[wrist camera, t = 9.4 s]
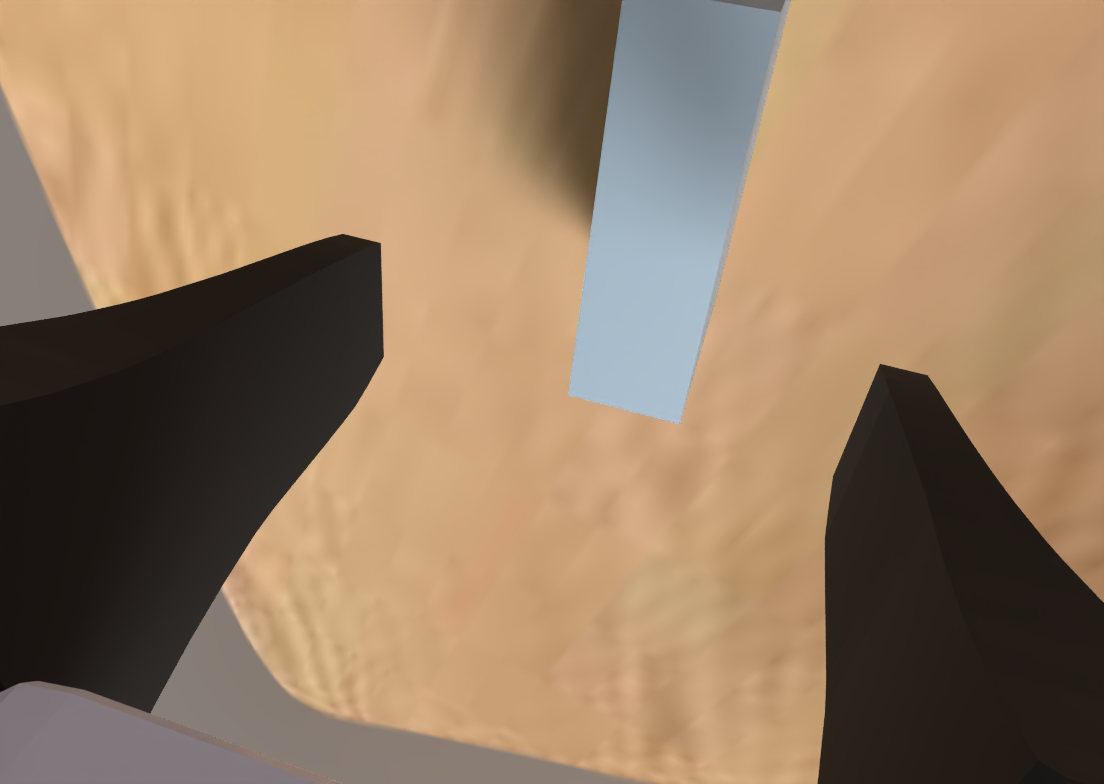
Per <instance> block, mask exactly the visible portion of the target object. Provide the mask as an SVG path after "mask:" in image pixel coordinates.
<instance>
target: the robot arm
mask: <svg viewBox="0 0 1104 784" xmlns="http://www.w3.org/2000/svg"><path fill="white" fill-rule="evenodd" d="M383 357H384V349H383V311H382V272H381V243H378V242H374V241H370V240H366V239H361V238H357V237H353V236H349V235H345V234H341V235H337V236H333V237H329V238H325V239H322V240H319V241H315V242H312V243H309V244H306V245H303V246H300V247H297V248H295V249H292V250H289V251H286V252H283V253H280V254H278V255H275V256H272V257H269V258H266V259H263V260H261V261H258V262H255V263H252V264H249V265H246V266H244V267H241V268H238V269H235V270H232V271H229V272H227V273H224V274H221V275H218V276H214V277H211V278H208V279H205V280H202V281H198V282H195V283H192V284H189V285H186V286H182V287H179V288H176V289H173V290H170V291H166V292H163V293H160V294H157V295H153V296H150V297H146V298H142V299H139V300H135V301H131V302H127V303H123V304H119V305H114V306H110V307H106V308H101V309H97V310H92V311H88V312H83V313H78V314H73V315H68V316H63V317H57V318H50V319H44V320H38V321H32V322H25V323H19V324H13V325H7V326H0V784H343V783H341V782H338V781H335V780H332V779H330V778H327V777H324V776H322V775H319V774H316V773H313V772H310V771H308V770H305V769H302V768H299V767H297V766H294V765H291V764H288V763H285V762H283V761H280V760H277V759H274V758H272V757H269V756H266V755H263V754H261V753H257V752H255V751H252V750H249V749H247V748H244V747H241V746H238V745H236V744H233V743H230V742H227V741H224V740H222V739H219V738H216V737H213V736H211V735H208V734H205V733H202V732H199V731H197V730H194V729H191V728H188V727H186V726H183V725H180V724H177V723H175V722H172V721H169V720H166V719H164V718H161V717H158V716H155V715H152V714H150V713H151V711H152V709H153V707H154V705H155V703H156V701H157V699H158V698H159V696H160V694H161V692H162V690H163V688H164V687H165V685H166V683H167V681H168V679H169V678H170V675H171V674H172V672H173V670H174V669H175V666H176V665H177V663H178V661H179V659H180V657H181V655H182V654H183V652H184V650H185V648H186V646H187V645H188V643H189V641H190V639H191V638H192V636H193V634H194V632H195V631H196V629H197V627H198V626H199V624H200V622H201V621H202V619H203V617H204V616H205V614H206V612H207V611H208V609H209V607H210V606H211V604H212V602H213V601H214V599H215V597H216V595H217V594H218V592H219V590H220V589H221V587H222V585H223V584H224V582H225V581H226V579H227V577H228V576H229V574H230V573H231V571H232V569H233V568H234V566H235V565H236V563H237V562H238V560H239V558H240V557H241V555H242V554H243V552H244V551H245V549H246V547H247V546H248V544H249V543H250V541H251V539H252V538H253V536H254V535H255V533H256V532H257V530H258V529H259V528H260V526H261V525H262V524H263V522H264V521H265V520H266V518H267V517H268V515H269V514H270V513H271V511H272V510H273V509H274V507H275V506H276V505H277V504H278V503H279V501H280V500H281V499H282V498H283V496H284V495H285V494H286V493H287V491H288V490H289V489H290V488H291V486H292V485H293V484H294V483H295V482H296V480H297V479H298V478H299V477H300V475H301V474H302V473H303V472H304V470H305V469H306V468H307V467H308V465H309V464H310V463H311V462H312V461H313V459H314V458H315V457H316V456H317V454H318V453H319V452H320V451H321V449H322V448H323V447H324V446H325V444H326V443H327V442H328V441H329V439H330V438H331V437H332V436H333V434H334V433H335V432H336V431H337V429H338V428H339V427H340V426H341V424H342V423H343V422H344V420H345V419H346V418H347V417H348V415H349V414H350V413H351V411H352V410H353V409H354V407H355V406H356V404H357V403H358V401H359V399H360V398H361V396H362V394H363V393H364V391H365V389H366V388H367V386H368V384H369V382H370V381H371V379H372V377H373V375H374V373H375V372H376V370H377V368H378V366H379V364H380V363H381V361H382V359H383ZM825 614H826V702H825V718H824V727H823V737H822V747H821V757H820V767H819V777H818V784H1104V603H1103V602H1102V601H1101V600H1100V599H1099V598H1098V596H1097V595H1096V594H1095V593H1094V592H1093V591H1092V590H1091V589H1090V588H1089V587H1088V586H1087V585H1086V584H1085V583H1084V582H1083V581H1082V580H1081V579H1080V578H1079V577H1078V575H1077V574H1076V573H1075V572H1074V571H1073V570H1072V569H1071V568H1070V567H1069V566H1068V565H1067V564H1066V563H1065V562H1064V561H1063V560H1062V559H1061V557H1060V556H1059V555H1058V554H1057V553H1056V552H1055V551H1054V550H1053V548H1052V547H1051V546H1050V545H1049V544H1048V543H1047V542H1046V540H1045V539H1044V538H1043V537H1042V536H1041V534H1040V533H1039V532H1038V531H1037V529H1036V528H1035V527H1034V526H1033V524H1032V523H1031V522H1030V521H1029V520H1028V518H1027V517H1026V516H1025V515H1024V513H1023V512H1022V511H1021V510H1020V508H1019V507H1018V506H1017V505H1016V503H1015V502H1014V501H1013V500H1012V498H1011V497H1010V496H1009V494H1008V493H1007V492H1006V490H1005V489H1004V488H1003V486H1002V485H1001V484H1000V482H999V481H998V479H997V478H996V477H995V475H994V474H993V473H992V471H991V470H990V468H989V467H988V465H987V464H986V463H985V461H984V460H983V458H982V457H981V455H980V454H979V453H978V451H977V450H976V448H975V447H974V445H973V444H972V442H971V441H970V439H969V438H968V436H967V435H966V433H965V432H964V430H963V429H962V427H961V426H960V424H959V422H958V421H957V419H956V418H955V416H954V415H953V413H952V412H951V410H950V409H949V407H948V405H947V404H946V402H945V401H944V399H943V398H942V396H941V395H940V393H939V391H938V390H937V388H936V387H935V385H934V384H933V382H932V381H931V380H930V378H929V377H928V375H924V374H920V373H915V372H911V371H907V370H903V369H899V368H895V367H891V366H886V365H882V364H880V365H879V368H878V370H877V373H876V375H875V377H874V380H873V382H872V385H871V387H870V389H869V392H868V394H867V397H866V399H865V401H864V404H863V406H862V409H861V411H860V413H859V416H858V418H857V421H856V423H855V425H854V428H853V430H852V432H851V435H850V437H849V440H848V442H847V444H846V447H845V449H844V452H843V454H842V456H841V459H840V461H839V464H838V466H837V468H836V471H835V473H834V476H833V481H832V488H831V495H830V502H829V510H828V518H827V526H826V534H825Z"/></svg>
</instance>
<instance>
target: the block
mask: <svg viewBox="0 0 1104 784" xmlns="http://www.w3.org/2000/svg"><path fill="white" fill-rule="evenodd" d="M790 1H791V0H622V5H621V12H620V20H619V27H618V34H617V42H616V49H615V56H614V64H613V71H612V78H611V86H610V93H609V100H608V108H607V115H606V122H605V130H604V137H603V144H602V152H601V159H600V166H599V173H598V181H597V188H596V195H595V203H594V210H593V217H592V225H591V232H590V239H589V247H588V254H587V261H586V269H585V276H584V283H583V291H582V298H581V305H580V313H579V320H578V327H577V335H576V342H575V349H574V357H573V364H572V371H571V379H570V386H569V393H568V395H570V396H574V397H578V398H581V399H585V400H589V401H593V402H597V403H601V404H604V405H608V406H612V407H616V408H620V409H624V410H627V411H631V412H635V413H639V414H643V415H647V416H650V417H654V418H658V419H662V420H666V421H670V422H673V423H677V424H680V422H681V418H682V415H683V411H684V408H685V404H686V401H687V397H688V394H689V390H690V387H691V383H692V380H693V376H694V373H695V369H696V366H697V362H698V359H699V355H700V352H701V348H702V345H703V341H704V338H705V334H706V331H707V327H708V324H709V320H710V317H711V313H712V310H713V306H714V303H715V299H716V296H717V292H718V289H719V285H720V281H721V277H722V273H723V269H724V265H725V261H726V257H727V253H728V249H729V245H730V241H731V237H732V233H733V229H734V225H735V221H736V217H737V213H738V209H739V205H740V201H741V197H742V193H743V189H744V185H745V181H746V177H747V173H748V169H749V165H750V161H751V157H752V153H753V149H754V145H755V141H756V137H757V133H758V129H759V125H760V121H761V117H762V113H763V109H764V105H765V101H766V97H767V93H768V89H769V85H770V81H771V77H772V73H773V69H774V65H775V61H776V57H777V53H778V49H779V45H780V41H781V37H782V33H783V29H784V25H785V21H786V17H787V13H788V9H789V5H790Z"/></svg>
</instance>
